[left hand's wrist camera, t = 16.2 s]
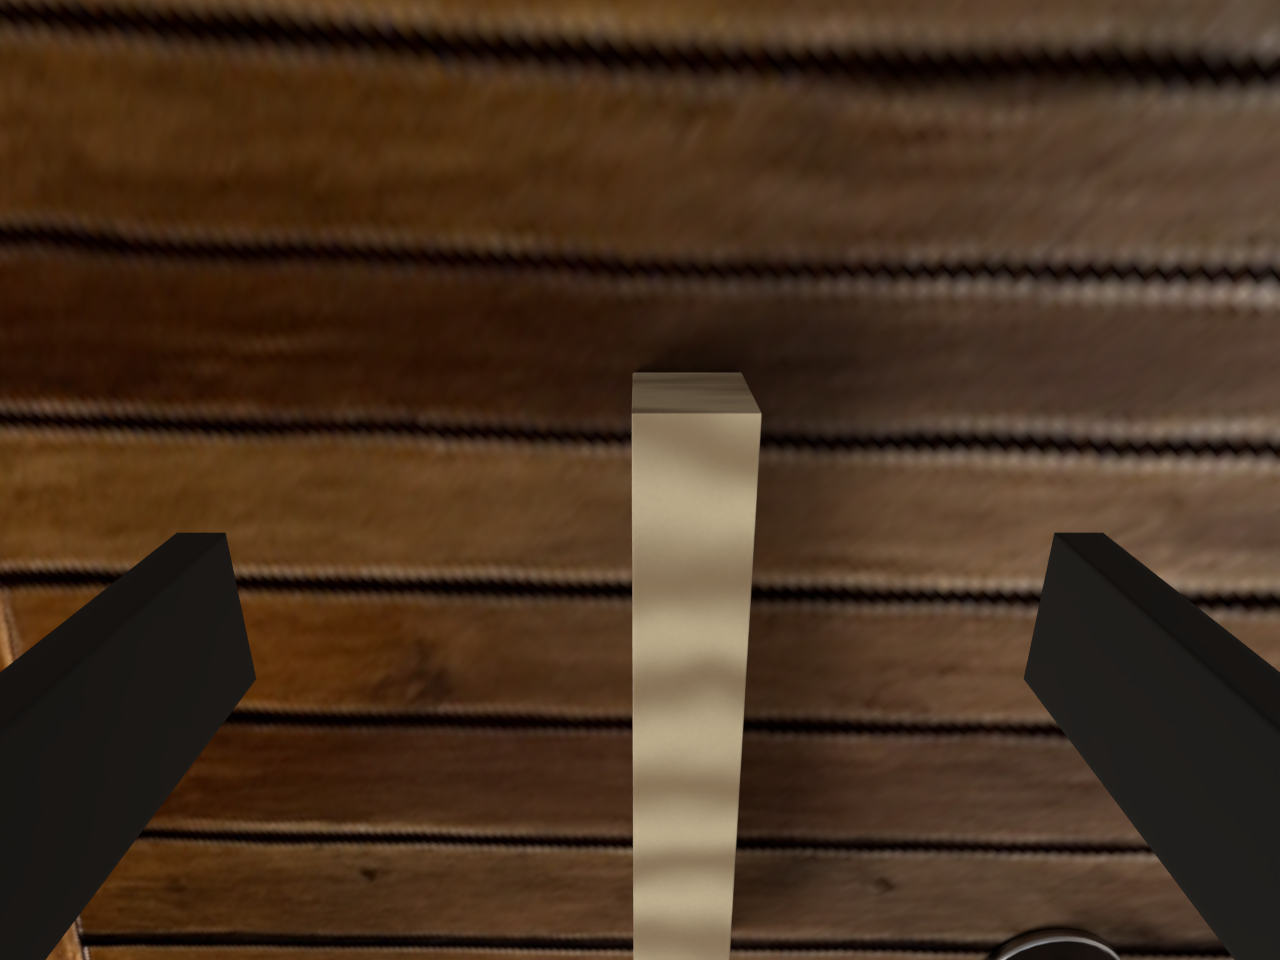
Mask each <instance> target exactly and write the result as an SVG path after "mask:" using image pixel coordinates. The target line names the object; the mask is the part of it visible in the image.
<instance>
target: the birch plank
mask: <svg viewBox="0 0 1280 960" xmlns="http://www.w3.org/2000/svg"><path fill="white" fill-rule="evenodd" d="M761 415H762V414H761V412H760V410H759V408H758V406H757V404H756V402H755V400H754V397H753V395H752V393H751V391H750V389H749V387H748V385H747V383H746V381H745V379H744V377H743V375H742V373H633V391H632V623H633V933H634V960H729V958H730V941H731V924H732V907H733V890H734V873H735V856H736V839H737V822H738V805H739V788H740V771H741V754H742V737H743V720H744V703H745V686H746V669H747V653H748V636H749V619H750V602H751V585H752V568H753V551H754V534H755V517H756V500H757V483H758V466H759V449H760V432H761Z"/></svg>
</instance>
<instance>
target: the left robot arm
mask: <svg viewBox="0 0 1280 960" xmlns="http://www.w3.org/2000/svg"><path fill="white" fill-rule="evenodd" d="M255 680H256V676H255V671H254V666H253V661H252V657H251V652H250V647H249V642H248V638H247V633H246V628H245V623H244V619H243V614H242V609H241V604H240V600H239V595H238V590H237V585H236V581H235V576H234V571H233V566H232V562H231V557H230V552H229V547H228V543H227V538H226V533H176V534H175V535H174V536H172V537H171V538H170V539H169V540H167V541H166V542H165V543H163V544H162V545H161V546H160V547H158V548H157V549H156V550H155V551H153V552H152V553H151V554H150V555H148V556H147V557H146V558H144V559H143V560H142V561H141V562H139V563H138V564H137V565H136V566H134V567H133V568H132V569H131V570H129V571H128V572H127V573H125V574H124V575H123V576H122V577H120V578H119V579H118V580H117V581H115V582H114V583H113V584H112V585H110V586H109V587H108V588H106V589H105V590H104V591H103V592H101V593H100V594H99V595H98V596H96V597H95V598H94V599H93V600H91V601H90V602H89V603H87V604H86V605H85V606H84V607H82V608H81V609H80V610H79V611H77V612H76V613H75V614H73V615H72V616H71V617H70V618H68V619H67V620H66V621H65V622H63V623H62V624H61V625H60V626H58V627H57V628H56V629H54V630H53V631H52V632H51V633H49V634H48V635H47V636H46V637H44V638H43V639H42V640H41V641H39V642H38V643H37V644H35V645H34V646H33V647H32V648H30V649H29V650H28V651H27V652H25V653H24V654H23V655H22V656H20V657H19V658H18V659H16V660H15V661H14V662H13V663H11V664H10V665H9V666H8V667H6V668H5V669H4V670H3V671H1V672H0V960H46V958H47V957H48V956H49V954H50V953H51V952H52V950H53V949H54V948H55V946H56V945H57V944H58V942H59V941H60V940H61V938H62V937H63V936H64V934H65V933H66V932H67V930H68V929H69V928H70V926H71V925H72V924H73V922H74V921H75V920H76V918H77V917H78V916H79V914H80V913H81V912H82V910H83V909H84V908H85V906H86V905H87V904H88V902H89V901H90V900H91V898H92V897H93V896H94V894H95V893H96V892H97V890H98V889H99V888H100V886H101V885H102V884H103V882H104V881H105V880H106V878H107V877H108V876H109V874H110V873H111V872H112V870H113V869H114V868H115V866H116V865H117V864H118V862H119V861H120V860H121V858H122V857H123V856H124V854H125V853H126V852H127V850H128V849H129V848H130V846H131V845H132V844H133V842H134V841H135V840H136V838H137V837H138V836H139V834H140V833H141V832H142V830H143V829H144V828H145V826H146V825H147V824H148V822H149V821H150V820H151V818H152V817H153V816H154V814H155V813H156V812H157V810H158V809H159V808H160V806H161V805H162V804H163V802H164V801H165V800H166V798H167V797H168V796H169V794H170V793H171V792H172V790H173V789H174V788H175V786H176V785H177V784H178V782H179V781H180V780H181V778H182V777H183V776H184V774H185V773H186V772H187V770H188V769H189V768H190V766H191V765H192V764H193V762H194V761H195V760H196V758H197V757H198V756H199V754H200V753H201V752H202V750H203V749H204V748H205V746H206V745H207V744H208V742H209V741H210V740H211V738H212V737H213V736H214V734H215V733H216V732H217V730H218V729H219V728H220V726H221V725H222V724H223V722H224V721H225V720H226V718H227V717H228V716H229V715H230V713H231V712H232V711H233V709H234V708H235V707H236V705H237V704H238V703H239V701H240V700H241V699H242V697H243V696H244V695H245V693H246V692H247V691H248V689H249V688H250V687H251V685H252V684H253V683H254V681H255ZM1024 680H1025V681H1026V683H1027V684H1028V685H1029V687H1030V688H1031V689H1032V691H1033V692H1034V693H1035V695H1036V696H1037V697H1038V699H1039V700H1040V701H1041V703H1042V704H1043V705H1044V707H1045V708H1046V709H1047V711H1048V712H1049V713H1050V715H1051V716H1052V717H1053V719H1054V720H1055V721H1056V722H1057V724H1058V725H1059V726H1060V728H1061V729H1062V730H1063V732H1064V733H1065V734H1066V736H1067V737H1068V738H1069V740H1070V741H1071V742H1072V744H1073V745H1074V746H1075V748H1076V749H1077V750H1078V752H1079V753H1080V754H1081V756H1082V757H1083V758H1084V760H1085V761H1086V762H1087V764H1088V765H1089V766H1090V768H1091V769H1092V770H1093V772H1094V773H1095V774H1096V776H1097V777H1098V778H1099V780H1100V781H1101V782H1102V784H1103V785H1104V786H1105V788H1106V789H1107V790H1108V792H1109V793H1110V794H1111V796H1112V797H1113V798H1114V800H1115V801H1116V802H1117V804H1118V805H1119V806H1120V808H1121V809H1122V810H1123V812H1124V813H1125V814H1126V816H1127V817H1128V818H1129V820H1130V821H1131V822H1132V824H1133V825H1134V826H1135V828H1136V829H1137V830H1138V832H1139V833H1140V834H1141V836H1142V837H1143V838H1144V840H1145V841H1146V842H1147V844H1148V845H1149V846H1150V848H1151V849H1152V850H1153V852H1154V853H1155V854H1156V856H1157V857H1158V858H1159V860H1160V861H1161V862H1162V864H1163V865H1164V866H1165V868H1166V869H1167V870H1168V872H1169V873H1170V874H1171V876H1172V877H1173V878H1174V880H1175V881H1176V882H1177V884H1178V885H1179V886H1180V888H1181V889H1182V890H1183V892H1184V893H1185V894H1186V896H1187V897H1188V898H1189V900H1190V901H1191V902H1192V904H1193V905H1194V906H1195V908H1196V909H1197V910H1198V912H1199V913H1200V914H1201V916H1202V917H1203V918H1204V920H1205V921H1206V922H1207V924H1208V925H1209V926H1210V928H1211V929H1212V930H1213V932H1214V933H1215V934H1216V936H1217V937H1218V938H1219V940H1220V941H1221V942H1222V944H1223V945H1224V946H1225V948H1226V949H1227V950H1228V952H1229V953H1230V954H1231V956H1232V957H1233V958H1234V960H1280V672H1279V671H1277V670H1276V669H1275V668H1274V667H1272V666H1271V665H1270V664H1269V663H1267V662H1266V661H1265V660H1264V659H1262V658H1261V657H1260V656H1258V655H1257V654H1256V653H1255V652H1253V651H1252V650H1251V649H1250V648H1248V647H1247V646H1246V645H1245V644H1243V643H1242V642H1241V641H1239V640H1238V639H1237V638H1236V637H1234V636H1233V635H1232V634H1231V633H1229V632H1228V631H1227V630H1226V629H1224V628H1223V627H1222V626H1220V625H1219V624H1218V623H1217V622H1215V621H1214V620H1213V619H1212V618H1210V617H1209V616H1208V615H1207V614H1205V613H1204V612H1203V611H1201V610H1200V609H1199V608H1198V607H1196V606H1195V605H1194V604H1193V603H1191V602H1190V601H1189V600H1187V599H1186V598H1185V597H1184V596H1182V595H1181V594H1180V593H1179V592H1177V591H1176V590H1175V589H1174V588H1172V587H1171V586H1170V585H1168V584H1167V583H1166V582H1165V581H1163V580H1162V579H1161V578H1160V577H1158V576H1157V575H1156V574H1155V573H1153V572H1152V571H1151V570H1149V569H1148V568H1147V567H1146V566H1144V565H1143V564H1142V563H1141V562H1139V561H1138V560H1137V559H1136V558H1134V557H1133V556H1132V555H1130V554H1129V553H1128V552H1127V551H1125V550H1124V549H1123V548H1122V547H1120V546H1119V545H1118V544H1117V543H1115V542H1114V541H1113V540H1111V539H1110V538H1109V537H1108V536H1106V535H1105V534H1104V533H1054V538H1053V543H1052V547H1051V552H1050V557H1049V562H1048V566H1047V571H1046V576H1045V581H1044V585H1043V590H1042V595H1041V600H1040V604H1039V609H1038V614H1037V619H1036V623H1035V628H1034V633H1033V638H1032V642H1031V647H1030V652H1029V657H1028V661H1027V666H1026V671H1025V676H1024Z"/></svg>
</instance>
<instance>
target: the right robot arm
mask: <svg viewBox="0 0 1280 960" xmlns="http://www.w3.org/2000/svg"><path fill="white" fill-rule="evenodd" d="M986 960H1121V959H1120V957H1119V956H1118V954H1117V953H1116V951H1115V950H1114V949H1113V948H1112V946H1110V945H1109V944H1108V943H1107V942H1105V941H1104V940H1103V939H1101V938H1099V937H1097V936H1095V935H1092V934H1089V933H1086V932H1082V931H1077V930H1067V929H1055V930H1045V931H1039V932H1035V933H1031V934H1028V935H1025V936H1022V937H1019V938H1017V939H1015V940H1012V941H1011V942H1009V943H1007V944H1005V945H1004V946H1002V947H1000V948H999V949H998V950H996V951H995V952H994V953H993V954H991V955H990V956H989V957H988V958H987V959H986Z"/></svg>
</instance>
